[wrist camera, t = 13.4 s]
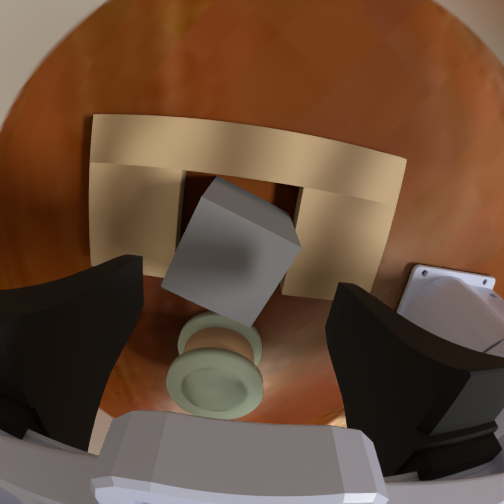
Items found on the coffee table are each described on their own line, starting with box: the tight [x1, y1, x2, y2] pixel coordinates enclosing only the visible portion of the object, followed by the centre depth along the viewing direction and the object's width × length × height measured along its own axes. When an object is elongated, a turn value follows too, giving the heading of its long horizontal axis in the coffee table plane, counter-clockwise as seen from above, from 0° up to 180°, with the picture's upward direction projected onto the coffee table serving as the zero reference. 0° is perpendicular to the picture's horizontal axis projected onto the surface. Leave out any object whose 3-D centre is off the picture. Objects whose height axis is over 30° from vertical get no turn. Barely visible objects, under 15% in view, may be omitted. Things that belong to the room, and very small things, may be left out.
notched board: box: [89, 114, 407, 300], centre depth 19 cm, size 19×10×2 cm, turn 81°
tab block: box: [160, 176, 302, 327], centre depth 18 cm, size 5×5×6 cm
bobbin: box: [166, 311, 263, 420], centre depth 21 cm, size 6×6×5 cm
